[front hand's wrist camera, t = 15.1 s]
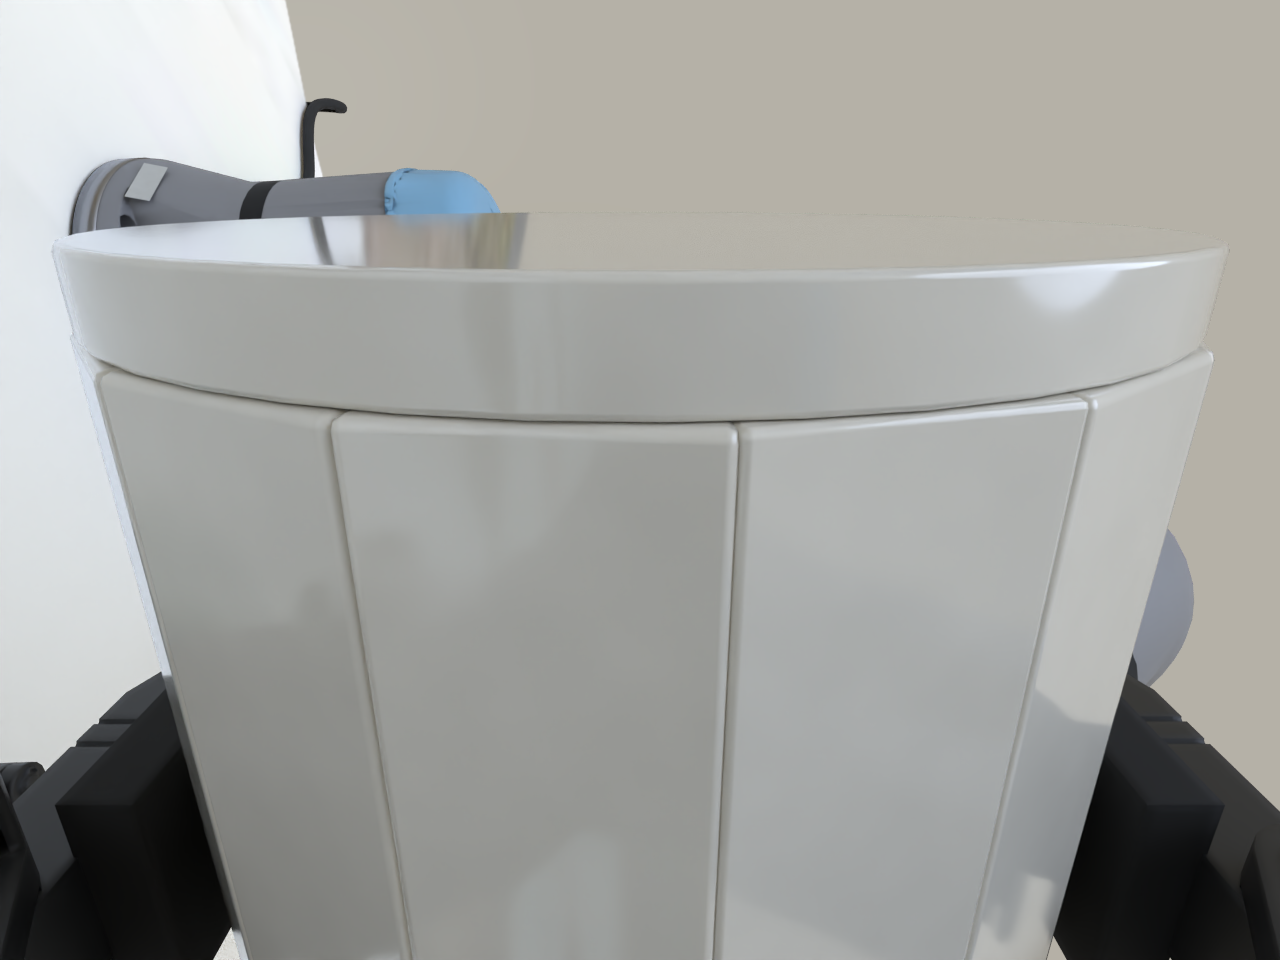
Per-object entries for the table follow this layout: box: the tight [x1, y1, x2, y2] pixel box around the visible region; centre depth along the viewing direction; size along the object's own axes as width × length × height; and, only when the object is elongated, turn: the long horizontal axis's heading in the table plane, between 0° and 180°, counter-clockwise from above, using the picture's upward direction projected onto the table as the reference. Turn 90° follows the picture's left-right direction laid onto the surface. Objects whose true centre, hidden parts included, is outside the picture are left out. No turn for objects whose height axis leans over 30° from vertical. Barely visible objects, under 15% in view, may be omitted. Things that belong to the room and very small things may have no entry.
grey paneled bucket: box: [51, 212, 1230, 960], centre depth 9 cm, size 10×10×10 cm
